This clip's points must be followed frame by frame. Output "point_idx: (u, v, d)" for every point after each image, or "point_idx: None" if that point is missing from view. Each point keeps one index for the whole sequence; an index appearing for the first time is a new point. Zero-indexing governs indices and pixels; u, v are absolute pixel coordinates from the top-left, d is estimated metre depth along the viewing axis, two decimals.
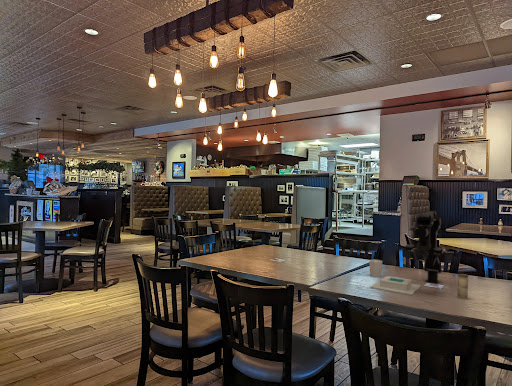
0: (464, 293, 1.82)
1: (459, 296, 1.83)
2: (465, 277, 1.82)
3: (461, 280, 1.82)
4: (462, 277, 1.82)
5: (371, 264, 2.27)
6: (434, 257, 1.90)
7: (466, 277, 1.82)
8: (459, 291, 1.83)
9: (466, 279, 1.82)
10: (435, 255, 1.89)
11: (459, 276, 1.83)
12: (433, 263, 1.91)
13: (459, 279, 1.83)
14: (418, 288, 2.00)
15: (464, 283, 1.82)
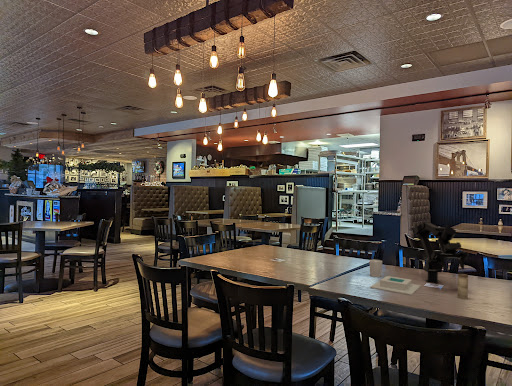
0: (464, 293, 1.82)
1: (459, 296, 1.83)
2: (465, 277, 1.82)
3: (461, 280, 1.82)
4: (462, 277, 1.82)
5: (371, 264, 2.27)
6: (463, 260, 1.94)
7: (466, 277, 1.82)
8: (459, 291, 1.83)
9: (466, 279, 1.82)
10: (464, 257, 1.94)
11: (459, 276, 1.83)
12: (463, 266, 1.92)
13: (459, 279, 1.83)
14: (418, 288, 2.00)
15: (464, 283, 1.82)
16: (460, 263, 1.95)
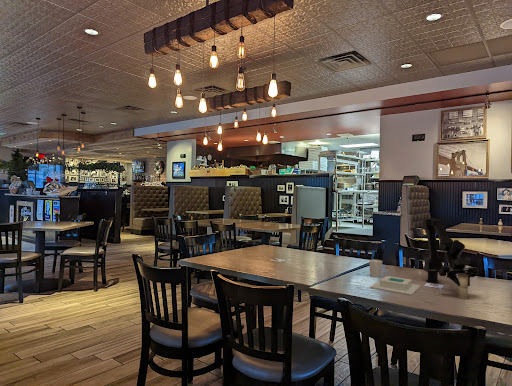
0: (464, 293, 1.82)
1: (459, 296, 1.83)
2: (465, 277, 1.82)
3: (461, 280, 1.82)
4: (462, 277, 1.82)
5: (371, 264, 2.27)
6: (468, 276, 1.85)
7: (466, 277, 1.82)
8: (459, 291, 1.83)
9: (466, 279, 1.82)
10: (469, 273, 1.85)
11: (459, 276, 1.83)
12: (469, 282, 1.83)
13: (459, 279, 1.83)
14: (418, 288, 2.00)
15: (464, 283, 1.82)
16: None
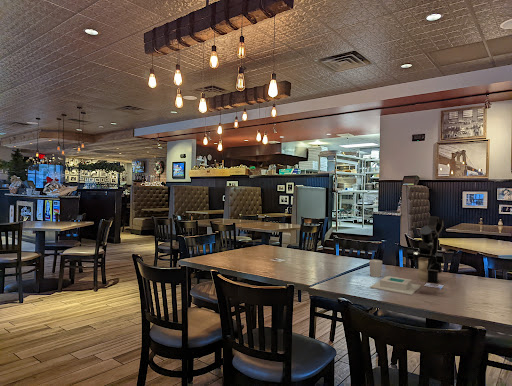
0: (421, 276, 1.88)
1: (418, 278, 1.91)
2: (422, 260, 1.88)
3: (419, 263, 1.90)
4: (420, 260, 1.89)
5: (371, 264, 2.27)
6: (430, 260, 1.89)
7: (423, 260, 1.88)
8: (418, 274, 1.91)
9: (423, 262, 1.88)
10: (431, 257, 1.89)
11: None
12: (428, 266, 1.88)
13: None
14: (418, 288, 2.00)
15: (421, 266, 1.89)
16: None
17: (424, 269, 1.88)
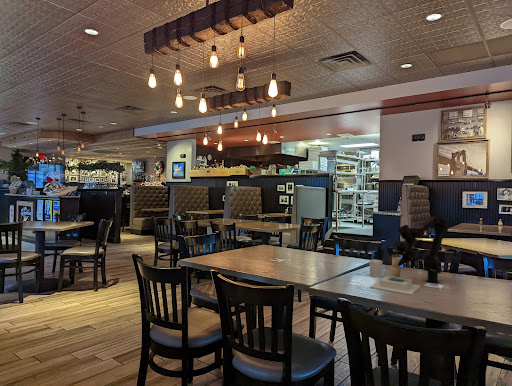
0: (393, 271, 2.01)
1: None
2: (393, 257, 2.00)
3: (392, 259, 2.02)
4: (392, 256, 2.02)
5: (371, 264, 2.27)
6: (402, 257, 1.99)
7: (394, 257, 2.00)
8: None
9: (394, 259, 2.00)
10: (404, 255, 1.99)
11: None
12: (399, 263, 1.99)
13: None
14: (418, 288, 2.00)
15: (393, 262, 2.01)
16: None
17: (395, 265, 2.00)
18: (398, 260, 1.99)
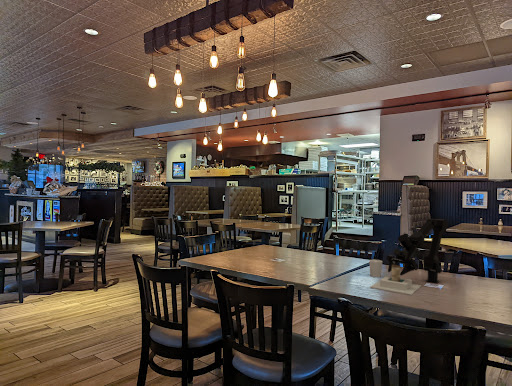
0: None
1: None
2: (393, 267, 2.00)
3: None
4: None
5: (371, 264, 2.27)
6: (405, 267, 1.97)
7: (394, 267, 2.00)
8: None
9: (394, 269, 2.00)
10: (406, 264, 1.97)
11: None
12: (401, 272, 1.97)
13: None
14: (418, 288, 2.00)
15: (392, 272, 2.01)
16: None
17: (394, 275, 2.00)
18: (398, 270, 1.99)
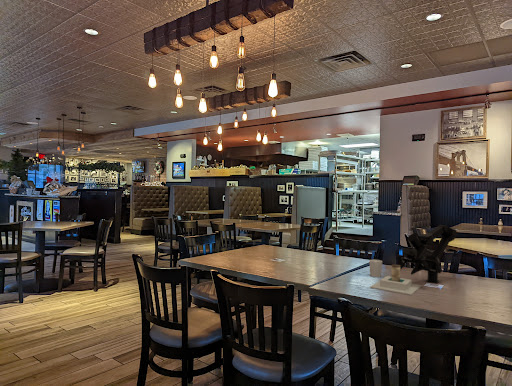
0: None
1: None
2: (393, 267, 2.00)
3: None
4: None
5: (371, 264, 2.27)
6: (415, 266, 2.01)
7: (394, 267, 2.00)
8: None
9: (394, 269, 2.00)
10: (417, 263, 2.01)
11: None
12: (412, 271, 2.01)
13: None
14: (418, 288, 2.00)
15: (392, 272, 2.01)
16: None
17: (394, 275, 2.00)
18: (398, 270, 1.99)
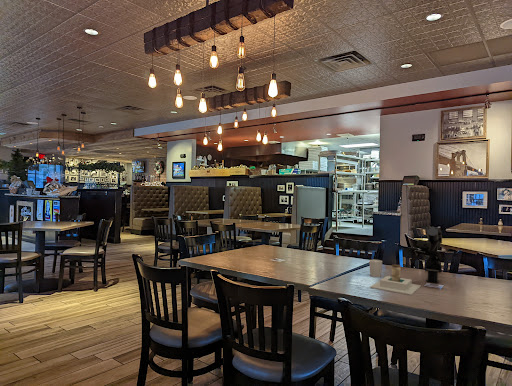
0: None
1: None
2: (393, 267, 2.00)
3: None
4: (392, 266, 2.02)
5: (371, 264, 2.27)
6: (429, 258, 2.01)
7: (394, 267, 2.00)
8: None
9: (394, 269, 2.00)
10: (431, 256, 2.01)
11: None
12: (426, 263, 2.01)
13: None
14: (418, 288, 2.00)
15: (392, 272, 2.01)
16: None
17: (395, 275, 2.00)
18: (398, 270, 1.99)
